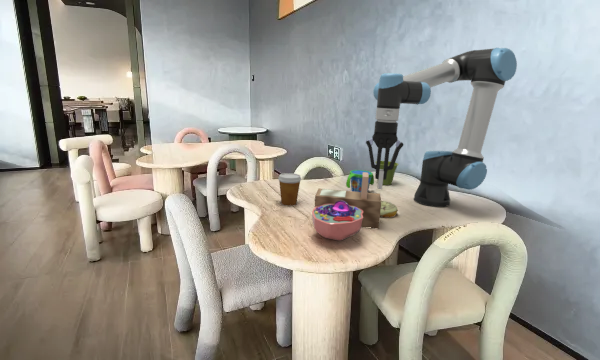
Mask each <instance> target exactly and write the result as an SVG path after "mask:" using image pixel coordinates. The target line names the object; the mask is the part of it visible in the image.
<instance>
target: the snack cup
mask: <svg viewBox="0 0 600 360" xmlns="http://www.w3.org/2000/svg"><path fill="white" fill-rule="evenodd" d="M363 172H367V173H368V175H369V179H368V190H367V193H369V192H368V191H369V188H370V186H373V185H374V184H375V176H374V174H373V172H371V171H369V170H364V169H353V170H349V174H348V177H347V179H346V183H345V185H346V188H348V189H351V190H350V191H354V192H361V185H362V174H363Z"/></svg>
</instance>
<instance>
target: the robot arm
mask: <svg viewBox="0 0 600 360" xmlns="http://www.w3.org/2000/svg"><path fill="white" fill-rule="evenodd" d="M517 63H518V62H517V57H516V55H515V53H514V52H513V50H511V49H510V48H507V47H494V48H485V49H474V50H469V51H465V52H463V53H460V54H457V55H455V56H452V57H449V58H446V59H444V60H443V61H442V63H439V64H436V65H433V66H430V67H427V68H425V69H422V70H419V71H415V72H413V73H412V72H411V73H409V74H406V75H403V74H401V73H392V72H391V73H388V72H387V73H385V72H384V73H382V74H380V76H379V82H377V83H376V84H375V86H374V87H373V97H374V98H375V100H376V101H377V103H376V109H375V112H376V113H375V120H376V121H375V122H374V132H373V134H372V136H371V138H369V139H366V140H365V144H366V146H367V148H368V154H369V161H370V167H371V169H374V170H375V174H374V175H375V176H374V179H376V180H377V179H378V180H377V185H376V187H377V189H378V190H383V185H382V184H383V180H386V177H387V171H388V170H392V169H393V167H394V164H395V163H396V162H397V161H396V160H397V159H398V156H399V153H400V150H401V149H402V148H403V147H404V145H405V144H404V143H403V142H402V141H400V140H399V138H398V135H397V133H398V126H399V123H398V122H397V121H399V116H400V109H401V108H400V106H401V104H404V105H405V104H406V105H424V104H425V103H427V102H428V101H429V99H430V98H431V94H432V90H431V88H433V87H435V86H439V85H442V84H445V83H449V84H451V83H455V82H460V81H461V82H462V81H463V82H464V81H470V85H471V86H472V88H473V90H472V94H471V96H470V101H469V105H468V108H467V112H466V114H465V115H466V116H465V119H464V123H463V126H462V129H461V130H462V131H461V134H460V138H459V142H458V145H457V148H456V149H454V150H453V151H451V150H429V151H426V152H424V154H423V158H422V163H421V165H422V166H421V174H420V182H419V185H418V188H417V189H416V191H415V192H414V197H413V200H414V201H415V202H416V203H418V204H421V205H424V206H430V207H435V208H436V207H437V208H442V207H443V208H444V207H448V206H450V205H451V204H450V203H451V196H450V191H449V185H451V186H454V187H458V188H459V189H463V190H469V191H470V190H474V189H476V188H478V187H479V186H481V185H482V184H483V182H484V181H485V179H486V177H487V175H488V174H487V173H488V169H487V165H486V164H485V163H484V155H483V154H482V151H483V146H484V144H485V143H484V142H485V139H486V135H487V133H488V128H489V125H490V120H491V118H492V113H493V110H494V106H495V103H496V99H497V96H498V94H499V93H498V92H499V91H500V90H502V89H503V88H505V84H506V81H507V82H508V81H509V80H511V79H513V77H514V76H515V75H516V72H517V66H518V64H517ZM373 143H374V144H375V146H376V147H377V154H376V161H377V163H375V159H374V153H373V152H374V151H373V147H372V146H373ZM394 145H395V149H394V152H393V154H392V157H391V159H390V151H391V148H392V147H393V146H394ZM383 149H385V150H384V159H383V161H384V169H383V170H382V169H380V163H381V161H382V152H383ZM389 159H390V165H389V166H388V161H389Z"/></svg>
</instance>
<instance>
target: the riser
mask: <svg viewBox="0 0 600 360" xmlns="http://www.w3.org/2000/svg"><path fill="white" fill-rule="evenodd" d="M337 201H345V202H347V203H348V204H349V205H350V206H355V207H358V208H360V209H362V210H363V220H362V227H361V228H366V227H371V228H370V229H375V228H379V227H380V218H381V217H380V210H381V201H382V198H381V193H374V192H367V199H361V192H354V191H351V190H341V189H330V188H317V191H316V193H315V196H314V208H315V207H316V206H320V205H323V204H335V202H337ZM379 229H380V228H379Z"/></svg>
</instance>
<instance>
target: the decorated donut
mask: <svg viewBox="0 0 600 360" xmlns="http://www.w3.org/2000/svg"><path fill="white" fill-rule="evenodd" d="M398 211H399V210H398V207H397V205H395V204H393V203H391V202H389V201H385V200H381V210H380V216H382V217H381V218H393V217H395V216H396V215H397V214H398V213H397V212H398Z"/></svg>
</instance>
